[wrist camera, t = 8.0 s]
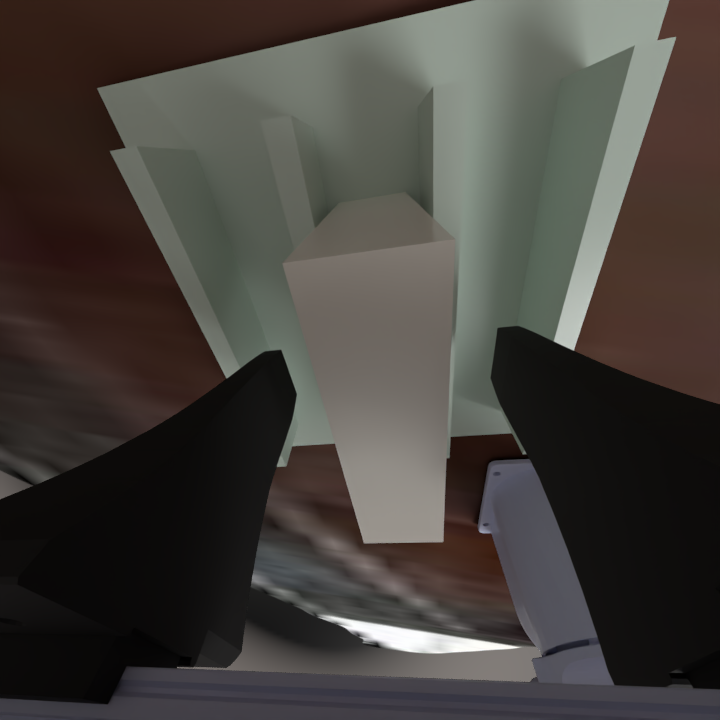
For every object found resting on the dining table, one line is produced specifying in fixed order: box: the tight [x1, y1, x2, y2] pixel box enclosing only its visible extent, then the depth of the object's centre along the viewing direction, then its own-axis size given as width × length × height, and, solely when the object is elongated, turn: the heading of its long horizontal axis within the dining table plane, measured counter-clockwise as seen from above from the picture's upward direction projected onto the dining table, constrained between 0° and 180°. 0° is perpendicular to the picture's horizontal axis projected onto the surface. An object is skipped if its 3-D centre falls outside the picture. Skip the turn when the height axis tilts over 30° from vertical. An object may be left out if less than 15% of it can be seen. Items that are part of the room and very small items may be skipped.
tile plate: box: [282, 192, 455, 543], centre depth 10 cm, size 9×2×8 cm, turn 8°
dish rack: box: [97, 0, 676, 467], centre depth 12 cm, size 18×17×4 cm
